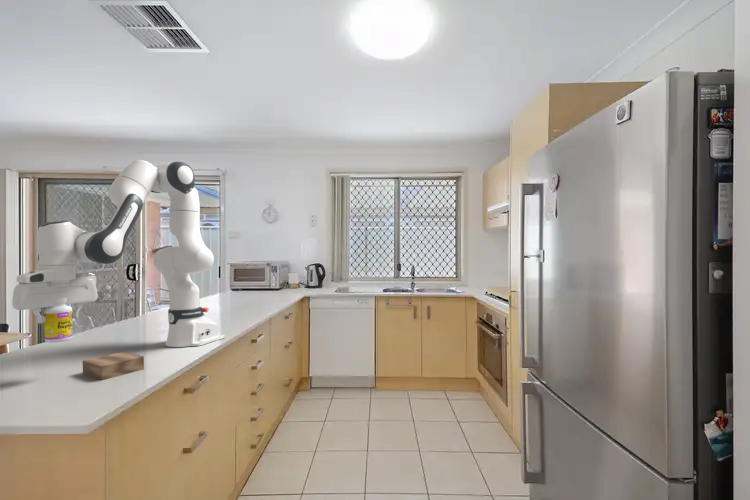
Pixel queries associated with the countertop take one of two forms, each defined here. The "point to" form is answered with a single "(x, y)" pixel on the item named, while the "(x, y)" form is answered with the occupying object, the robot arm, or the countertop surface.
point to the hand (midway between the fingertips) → (58, 320)
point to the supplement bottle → (58, 322)
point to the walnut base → (113, 365)
